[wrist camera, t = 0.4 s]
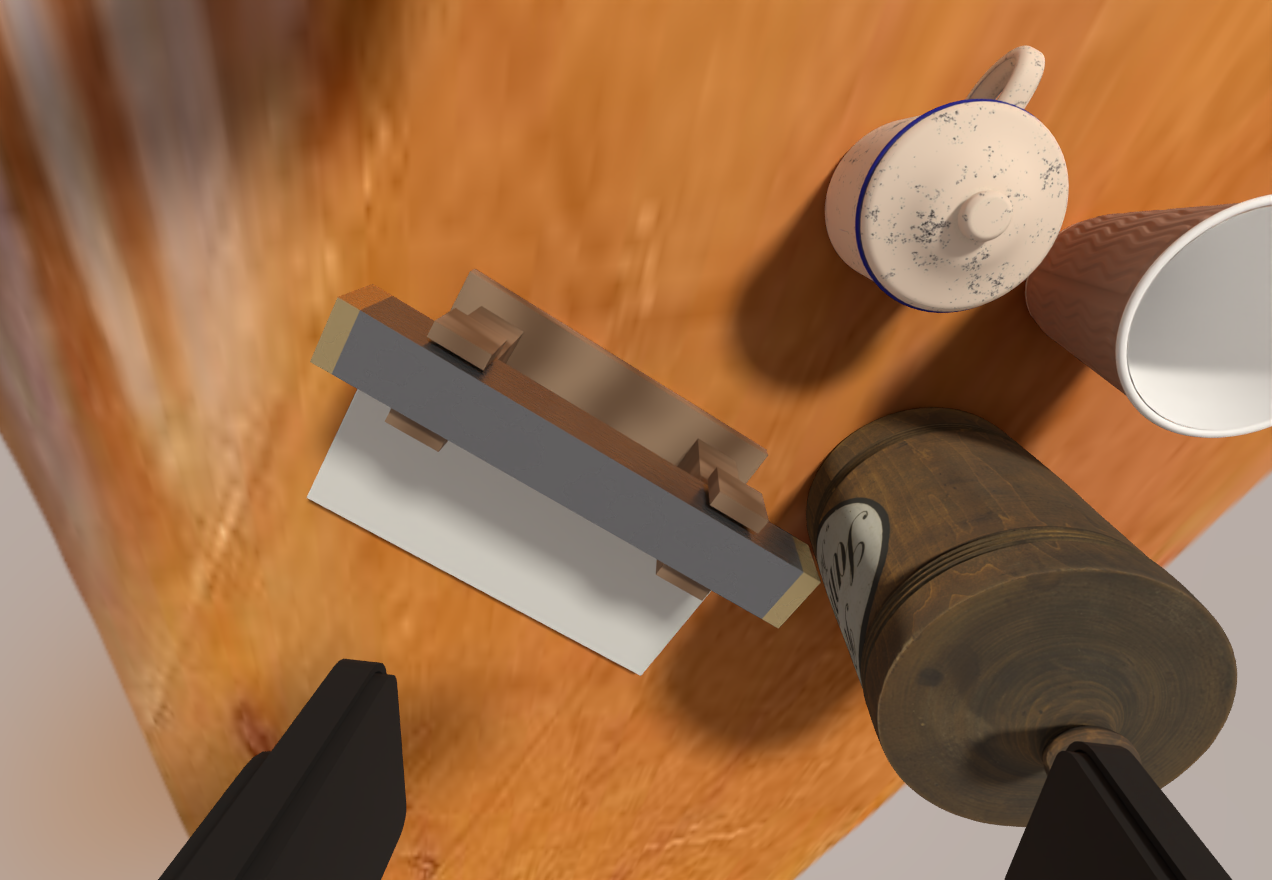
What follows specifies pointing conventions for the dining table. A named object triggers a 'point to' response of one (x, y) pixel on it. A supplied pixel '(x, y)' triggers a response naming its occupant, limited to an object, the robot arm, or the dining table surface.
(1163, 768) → the wooden container
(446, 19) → the dining table surface
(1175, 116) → the dining table surface
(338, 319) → the rail
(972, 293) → the teacup with lid
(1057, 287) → the coffee cup
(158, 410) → the dining table surface
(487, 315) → the rack
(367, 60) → the dining table surface
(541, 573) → the mat
